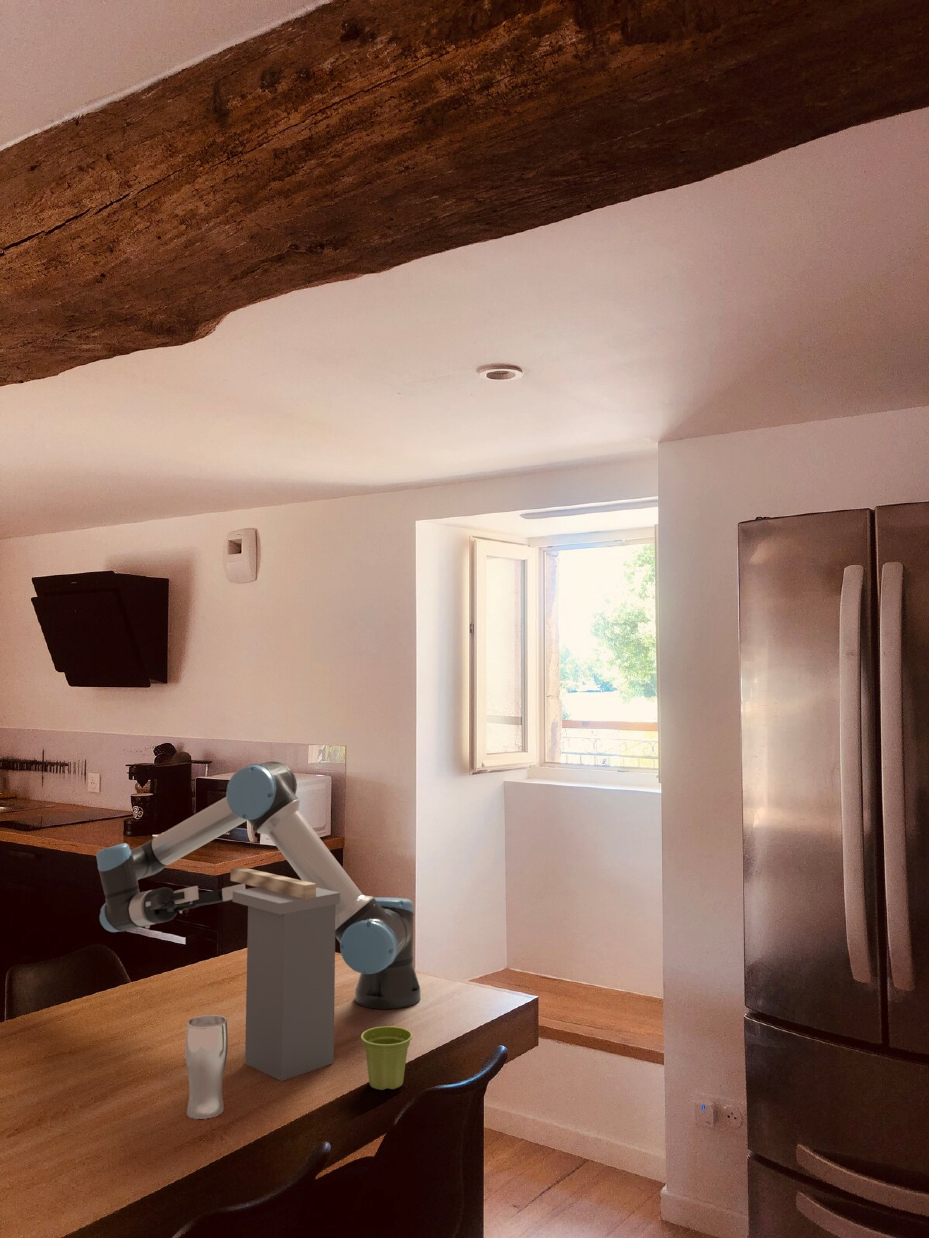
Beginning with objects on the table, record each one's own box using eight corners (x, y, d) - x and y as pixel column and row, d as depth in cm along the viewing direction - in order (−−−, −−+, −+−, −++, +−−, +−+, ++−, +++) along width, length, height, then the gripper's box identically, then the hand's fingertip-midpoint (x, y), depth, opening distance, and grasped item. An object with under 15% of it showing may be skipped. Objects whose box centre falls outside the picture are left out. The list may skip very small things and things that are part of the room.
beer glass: (214, 1122, 159) (217, 1028, 160) (176, 1118, 160) (178, 1026, 162) (233, 1105, 166) (235, 1015, 167) (195, 1101, 167) (198, 1012, 168)
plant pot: (422, 1080, 177) (422, 1032, 177) (391, 1098, 169) (391, 1047, 169) (381, 1070, 182) (382, 1022, 182) (349, 1087, 174) (350, 1037, 174)
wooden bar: (230, 880, 200) (230, 868, 201) (240, 878, 202) (241, 866, 202) (305, 898, 182) (305, 885, 182) (316, 896, 184) (316, 883, 184)
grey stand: (229, 1059, 187) (232, 891, 189) (289, 1041, 197) (291, 881, 199) (276, 1082, 176) (279, 903, 178) (337, 1061, 186) (339, 892, 188)
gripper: (198, 920, 226) (264, 905, 216) (109, 927, 206) (176, 912, 196) (196, 887, 229) (261, 871, 219) (107, 891, 208) (174, 874, 198)
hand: (221, 891), depth 207 cm, fingers open, 13 cm apart
